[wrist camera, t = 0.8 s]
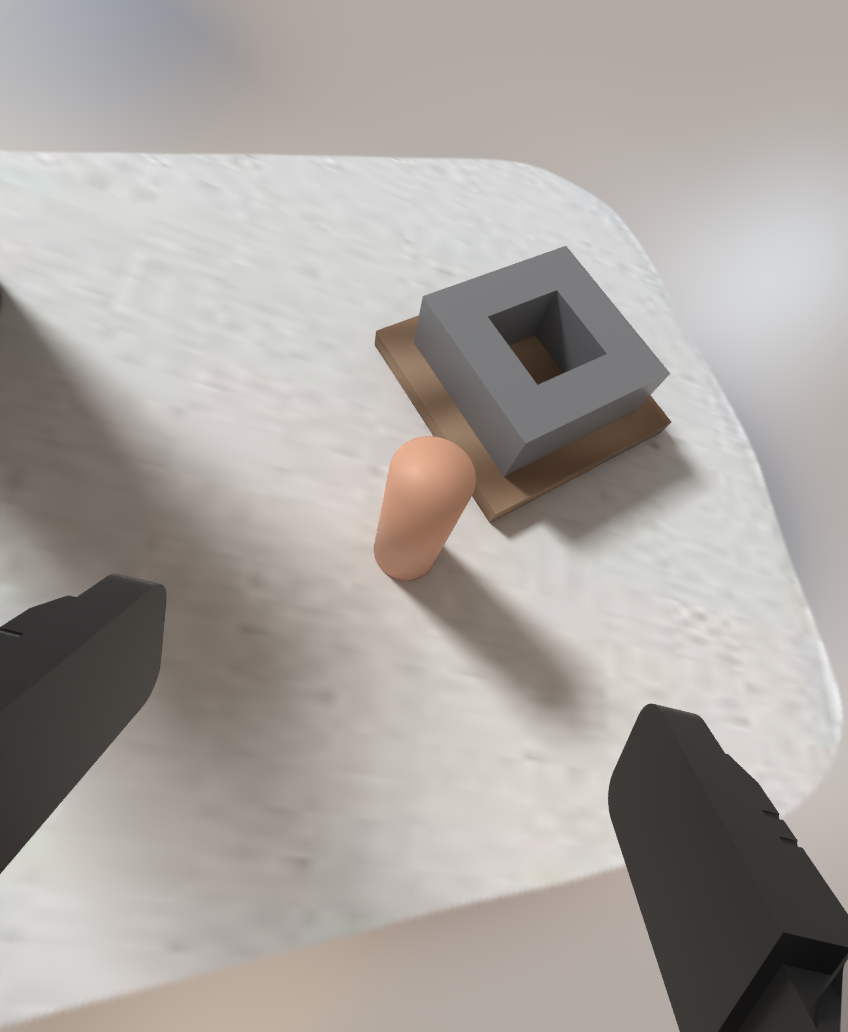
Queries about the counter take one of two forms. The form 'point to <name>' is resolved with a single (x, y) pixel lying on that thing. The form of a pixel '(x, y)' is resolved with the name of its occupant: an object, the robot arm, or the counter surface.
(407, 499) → the peg
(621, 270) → the counter surface
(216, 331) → the counter surface
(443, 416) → the socket board
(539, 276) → the socket
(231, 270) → the counter surface
